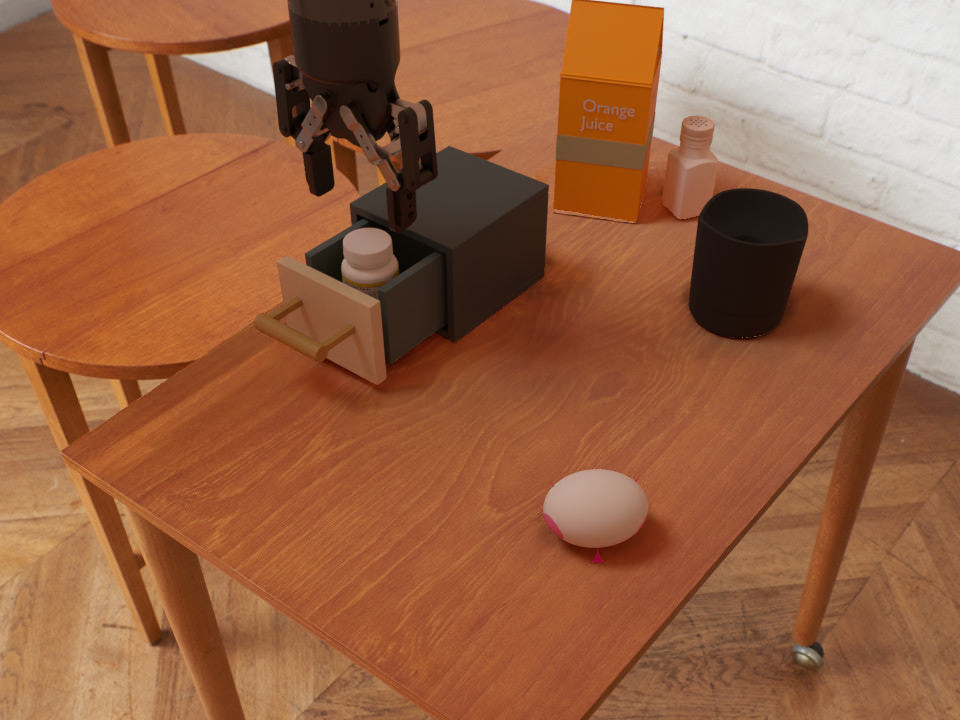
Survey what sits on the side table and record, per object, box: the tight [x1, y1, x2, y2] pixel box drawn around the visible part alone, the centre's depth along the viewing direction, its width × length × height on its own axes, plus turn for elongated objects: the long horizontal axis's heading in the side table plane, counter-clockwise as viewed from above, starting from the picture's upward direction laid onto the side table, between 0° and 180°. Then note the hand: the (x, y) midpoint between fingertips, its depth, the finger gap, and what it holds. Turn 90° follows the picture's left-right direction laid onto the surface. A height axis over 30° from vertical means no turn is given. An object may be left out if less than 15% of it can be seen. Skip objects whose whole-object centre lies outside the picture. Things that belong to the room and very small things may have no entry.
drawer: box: [253, 218, 448, 386], centre depth 89 cm, size 17×10×8 cm, turn 143°
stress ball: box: [542, 468, 650, 564], centre depth 76 cm, size 8×8×7 cm
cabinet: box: [349, 145, 550, 344], centre depth 96 cm, size 14×12×10 cm
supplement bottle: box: [341, 228, 399, 300], centre depth 88 cm, size 5×5×8 cm
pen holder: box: [688, 187, 809, 339], centre depth 93 cm, size 9×9×10 cm
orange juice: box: [553, 0, 665, 222], centre depth 103 cm, size 8×9×20 cm
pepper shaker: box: [661, 115, 719, 220], centre depth 106 cm, size 4×4×10 cm
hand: (361, 209), depth 84 cm, fingers open, 8 cm apart
